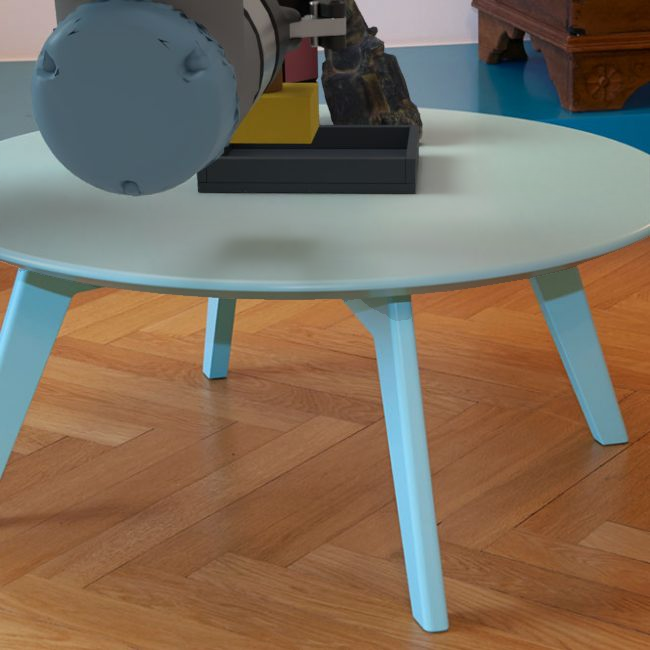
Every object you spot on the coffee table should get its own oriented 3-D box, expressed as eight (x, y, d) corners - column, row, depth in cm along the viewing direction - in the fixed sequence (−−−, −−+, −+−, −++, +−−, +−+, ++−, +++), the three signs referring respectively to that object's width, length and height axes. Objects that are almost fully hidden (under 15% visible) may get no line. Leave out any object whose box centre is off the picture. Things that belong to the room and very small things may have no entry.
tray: (197, 192, 92) (195, 158, 91) (225, 155, 104) (223, 124, 102) (415, 193, 90) (415, 158, 89) (418, 155, 102) (419, 124, 101)
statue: (403, 151, 103) (403, -20, 98) (304, 135, 111) (299, -26, 105) (438, 140, 107) (440, -26, 102) (340, 125, 114) (337, -31, 109)
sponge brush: (204, 143, 74) (190, -86, 68) (218, 126, 78) (206, -90, 73) (311, 143, 73) (306, -88, 68) (319, 126, 78) (314, -91, 72)
